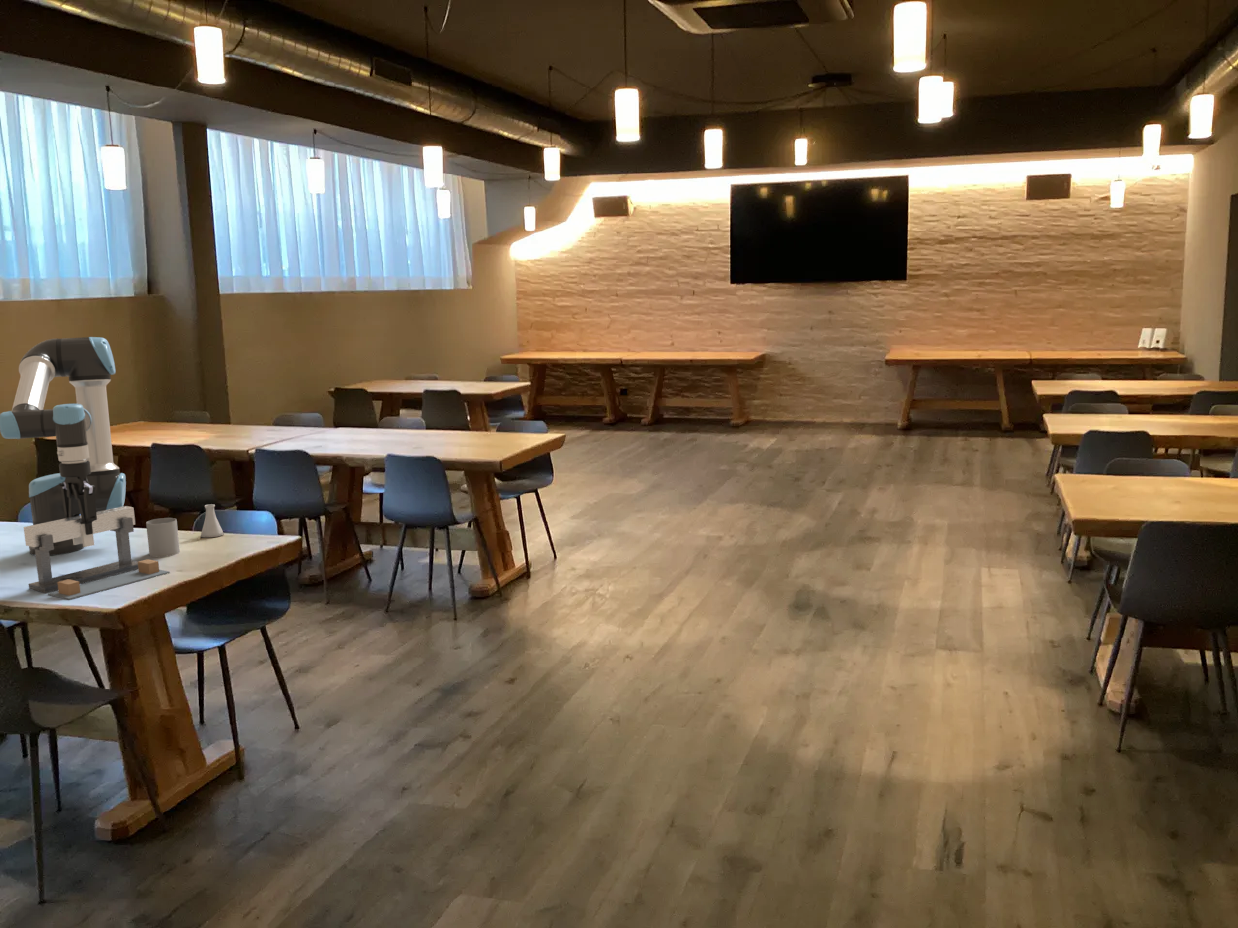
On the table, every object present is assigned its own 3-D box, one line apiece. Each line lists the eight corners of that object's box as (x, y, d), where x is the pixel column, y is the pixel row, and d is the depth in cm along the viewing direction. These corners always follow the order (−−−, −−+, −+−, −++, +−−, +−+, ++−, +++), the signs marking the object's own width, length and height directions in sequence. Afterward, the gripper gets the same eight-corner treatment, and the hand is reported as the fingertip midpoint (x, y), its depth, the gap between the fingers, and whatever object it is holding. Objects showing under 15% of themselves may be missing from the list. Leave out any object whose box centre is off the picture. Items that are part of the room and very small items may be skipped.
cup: (168, 557, 315) (165, 524, 314) (143, 556, 317) (140, 523, 315) (185, 550, 324) (182, 518, 322) (161, 549, 325) (157, 517, 324)
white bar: (25, 545, 281) (23, 527, 280) (127, 523, 305) (125, 506, 304) (34, 547, 279) (31, 528, 278) (135, 524, 303) (133, 507, 302)
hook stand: (29, 589, 284) (22, 534, 282) (125, 564, 308) (120, 514, 305) (45, 593, 280) (38, 537, 278) (142, 568, 303) (136, 516, 301)
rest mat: (47, 594, 279) (46, 582, 278) (148, 568, 303) (146, 556, 302) (69, 599, 273) (68, 587, 273) (169, 572, 297) (168, 561, 297)
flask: (220, 537, 339) (218, 507, 337) (197, 538, 338) (194, 507, 337) (227, 532, 346) (224, 502, 344) (204, 533, 346) (201, 503, 344)
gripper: (43, 461, 290) (53, 544, 294) (78, 465, 281) (88, 551, 285) (69, 456, 296) (79, 538, 300) (105, 461, 287) (114, 545, 291)
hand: (83, 544), depth 292 cm, fingers closed on white bar, 4 cm apart
